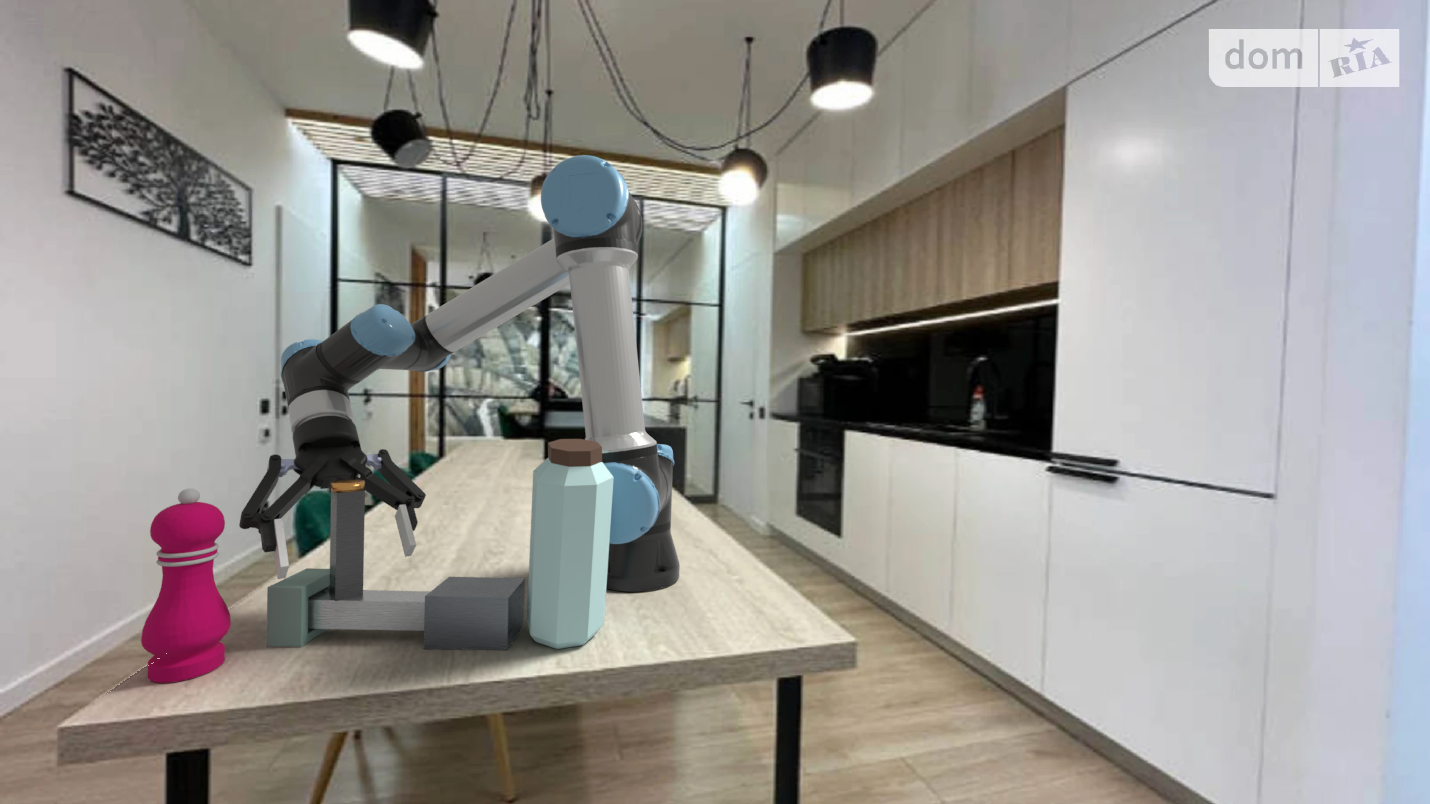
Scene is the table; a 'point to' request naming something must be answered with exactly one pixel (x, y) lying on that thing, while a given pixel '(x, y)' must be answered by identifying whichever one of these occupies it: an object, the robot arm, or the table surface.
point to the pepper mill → (186, 593)
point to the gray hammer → (358, 576)
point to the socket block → (293, 608)
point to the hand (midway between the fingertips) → (351, 561)
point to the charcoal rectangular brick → (474, 613)
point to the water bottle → (569, 544)
